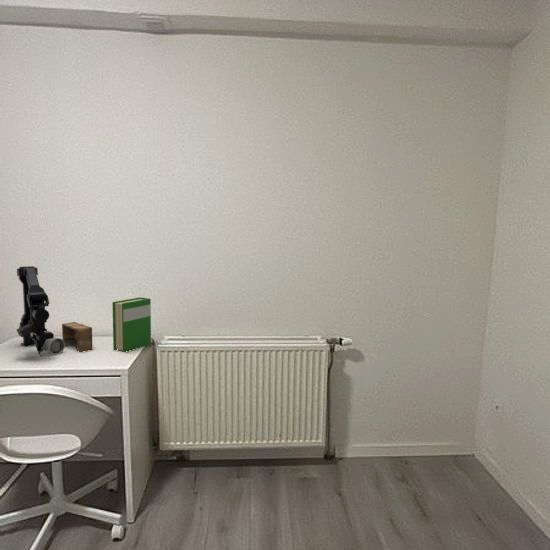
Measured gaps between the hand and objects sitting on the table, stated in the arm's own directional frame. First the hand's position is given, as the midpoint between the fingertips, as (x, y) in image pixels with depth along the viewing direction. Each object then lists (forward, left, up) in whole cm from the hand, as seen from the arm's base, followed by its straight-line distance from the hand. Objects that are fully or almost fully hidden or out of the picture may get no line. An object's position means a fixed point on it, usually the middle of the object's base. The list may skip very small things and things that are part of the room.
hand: (38, 351), depth 197 cm
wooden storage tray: (0, +18, -2) cm, 18 cm away
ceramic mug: (+1, +5, -2) cm, 5 cm away
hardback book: (+19, +37, -2) cm, 42 cm away
